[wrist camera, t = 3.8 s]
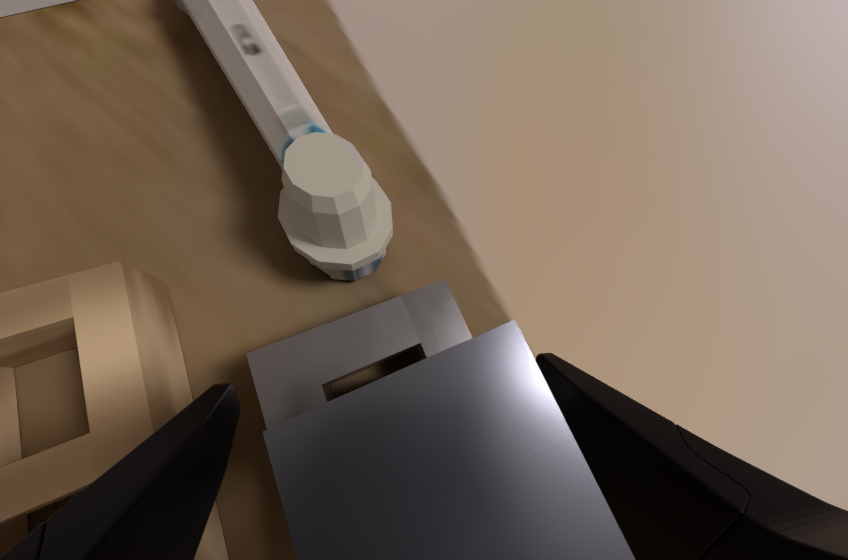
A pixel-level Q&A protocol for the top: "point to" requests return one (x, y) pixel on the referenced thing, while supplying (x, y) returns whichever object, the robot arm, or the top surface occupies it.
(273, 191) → the top surface
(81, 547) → the robot arm
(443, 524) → the tall grey square pillar
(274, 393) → the socket
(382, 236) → the white bulb-headed handheld tool
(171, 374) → the rack
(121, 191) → the top surface
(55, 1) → the grey arched slab
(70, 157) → the top surface
